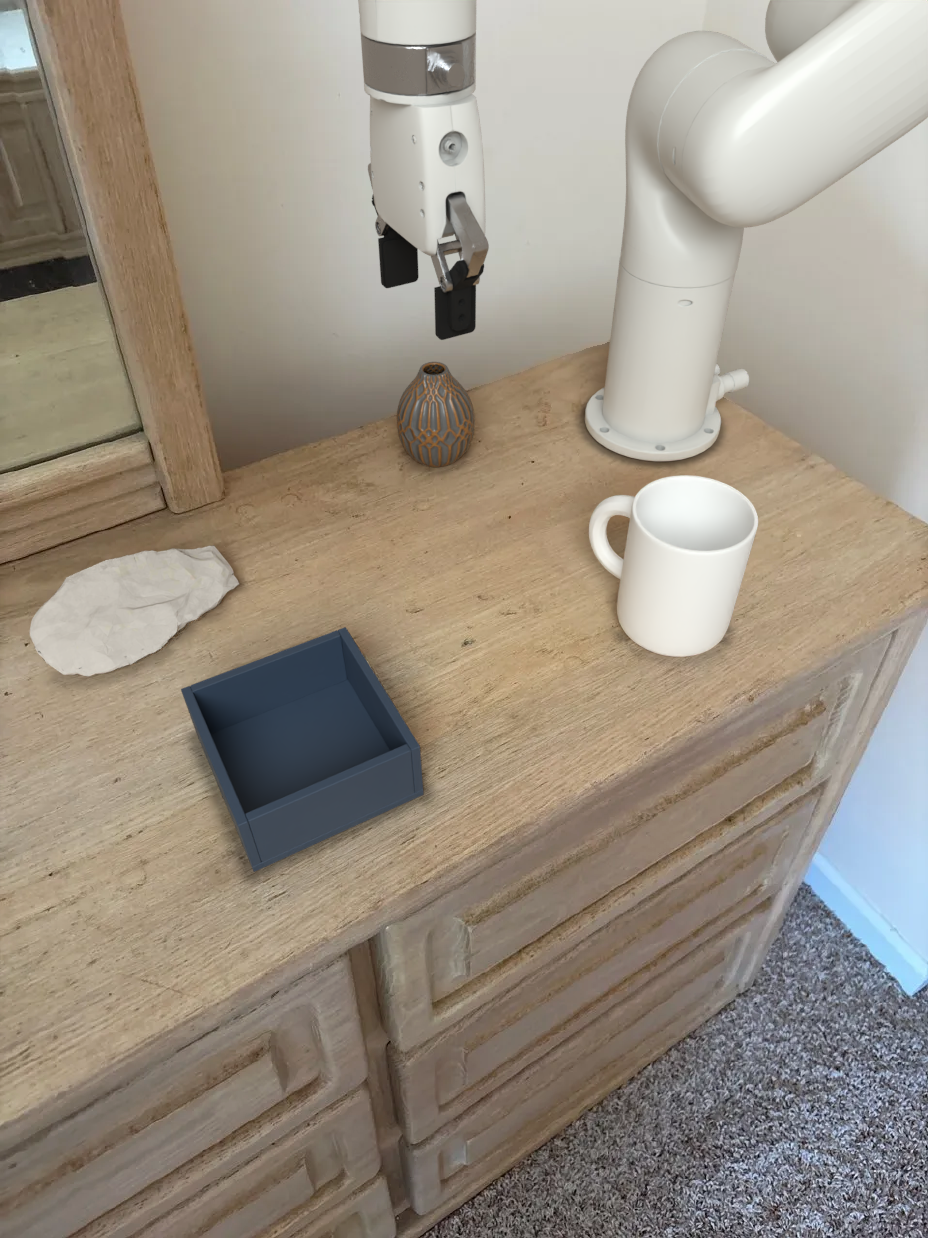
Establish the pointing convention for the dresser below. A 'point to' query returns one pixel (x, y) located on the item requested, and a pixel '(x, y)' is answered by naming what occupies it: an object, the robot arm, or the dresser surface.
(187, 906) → the dresser surface
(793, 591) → the dresser surface
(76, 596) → the stone tool
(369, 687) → the bin
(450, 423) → the vase
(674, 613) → the mug
